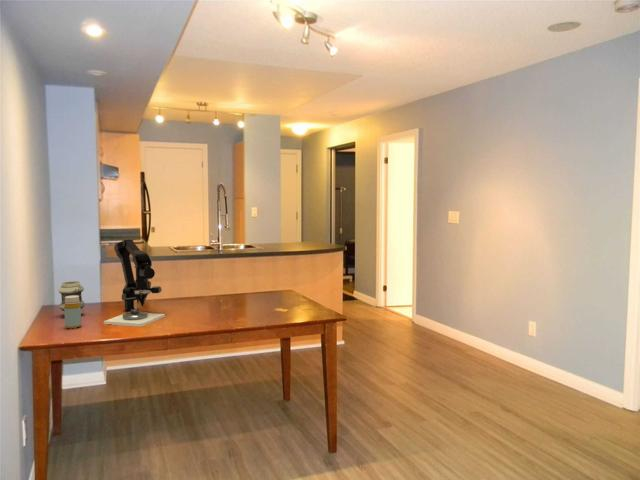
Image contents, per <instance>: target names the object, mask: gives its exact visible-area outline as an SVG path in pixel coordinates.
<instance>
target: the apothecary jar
mask: <svg viewBox="0 0 640 480" xmlns="http://www.w3.org/2000/svg"><path fill="white" fill-rule="evenodd" d="M83 291H85V290H84V286H83V285H82V284H81V283H80V281H78V280H77V281H76V280H75V281H74V280H73V281H72V280H70V281H64V282H62V283H61V286H60V287H59V288H58V293H59V294H61V303H60V304H59V305H58V307H59V309H60V310H61V311H63V312H64V306H65V297H66V296H72V295H78V296H79V303H80V305H81V310H82V309H84V307H85V305H86V304H85V301H83V299H82V292H83ZM83 314H84V313H82V312H81V317H82V316H83ZM63 317H65V313H64V314H63V315H62V317H61V318H63Z"/></svg>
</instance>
